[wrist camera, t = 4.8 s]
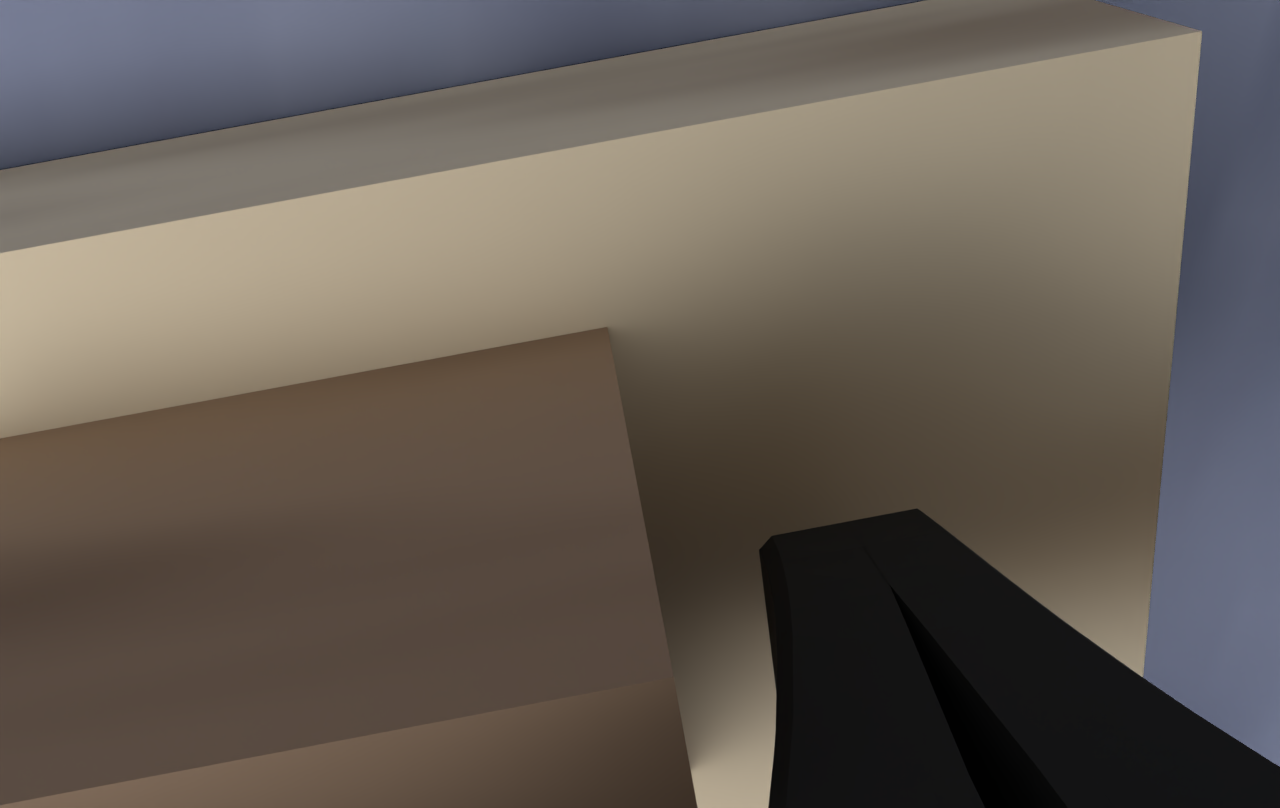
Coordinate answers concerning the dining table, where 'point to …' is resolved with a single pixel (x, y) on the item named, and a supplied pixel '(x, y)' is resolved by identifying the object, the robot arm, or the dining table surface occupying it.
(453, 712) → the walnut block
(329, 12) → the dining table surface
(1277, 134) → the dining table surface
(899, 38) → the trap box
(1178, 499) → the dining table surface
